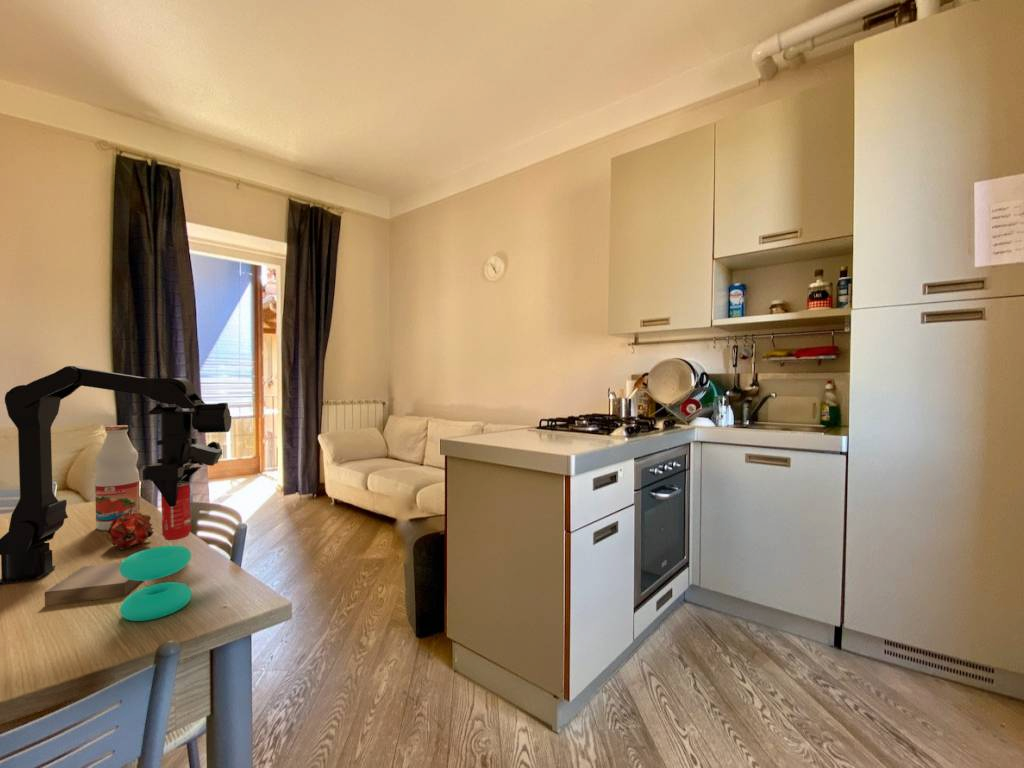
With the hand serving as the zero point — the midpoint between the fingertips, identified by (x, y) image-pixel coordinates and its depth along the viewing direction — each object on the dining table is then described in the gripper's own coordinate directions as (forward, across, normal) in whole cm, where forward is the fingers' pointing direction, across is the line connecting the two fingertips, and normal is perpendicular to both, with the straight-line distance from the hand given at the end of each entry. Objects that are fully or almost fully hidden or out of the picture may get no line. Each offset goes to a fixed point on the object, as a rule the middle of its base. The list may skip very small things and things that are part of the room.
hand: (177, 503), depth 103 cm
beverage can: (+8, 0, 0) cm, 8 cm away
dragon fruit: (+13, +15, +15) cm, 25 cm away
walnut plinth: (+13, -11, +9) cm, 19 cm away
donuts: (+13, -25, -5) cm, 29 cm away
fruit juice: (+13, +35, +26) cm, 46 cm away
